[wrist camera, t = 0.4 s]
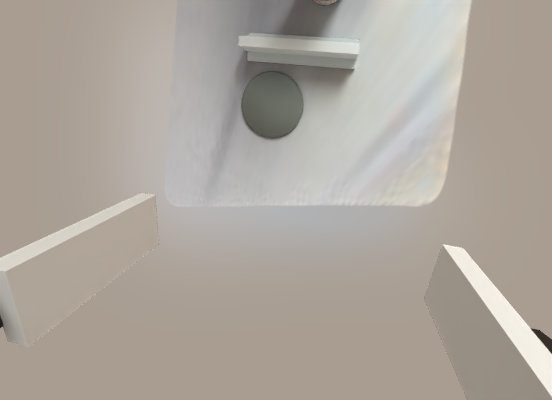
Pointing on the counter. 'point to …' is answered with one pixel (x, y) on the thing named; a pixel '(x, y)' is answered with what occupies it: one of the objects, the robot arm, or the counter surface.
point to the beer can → (325, 2)
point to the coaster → (272, 104)
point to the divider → (301, 50)
